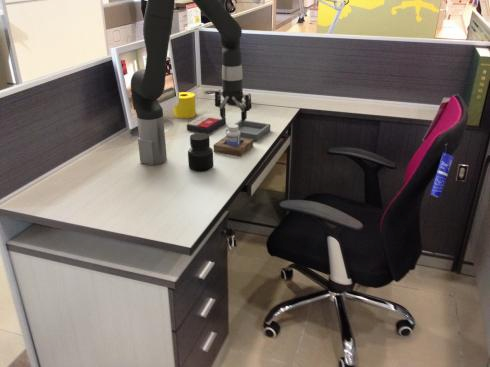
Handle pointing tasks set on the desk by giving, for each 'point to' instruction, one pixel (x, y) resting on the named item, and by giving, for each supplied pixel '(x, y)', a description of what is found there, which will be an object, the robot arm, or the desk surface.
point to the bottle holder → (233, 147)
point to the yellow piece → (185, 105)
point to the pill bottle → (233, 135)
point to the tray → (252, 129)
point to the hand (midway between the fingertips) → (233, 119)
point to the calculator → (206, 123)
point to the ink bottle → (200, 153)
